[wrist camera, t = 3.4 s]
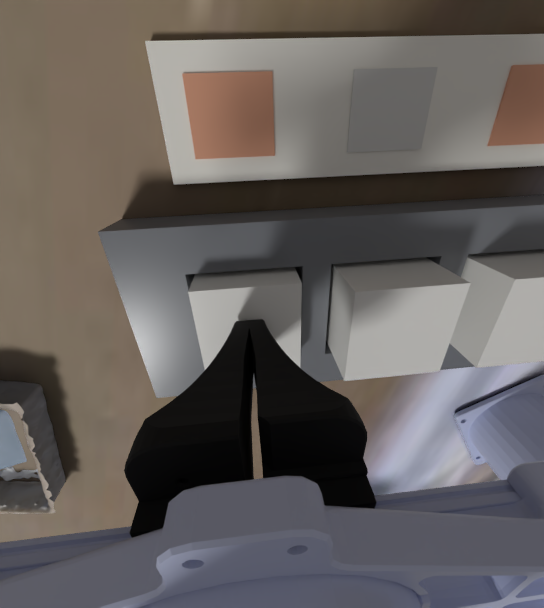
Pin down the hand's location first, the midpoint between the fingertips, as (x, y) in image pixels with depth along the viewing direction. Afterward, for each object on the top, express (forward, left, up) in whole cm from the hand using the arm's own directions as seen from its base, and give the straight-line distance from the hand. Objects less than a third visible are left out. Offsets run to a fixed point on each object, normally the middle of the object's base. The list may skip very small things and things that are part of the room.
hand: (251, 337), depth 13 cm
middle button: (-3, -6, -3) cm, 7 cm away
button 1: (-7, -12, -3) cm, 14 cm away
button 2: (0, 0, -4) cm, 4 cm away
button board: (-3, -6, -4) cm, 8 cm away
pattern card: (+4, -10, -4) cm, 12 cm away
